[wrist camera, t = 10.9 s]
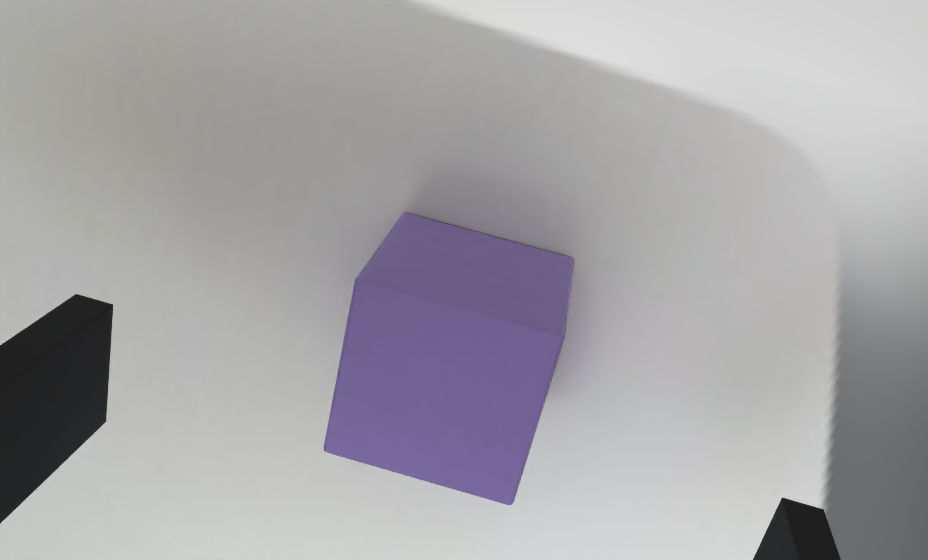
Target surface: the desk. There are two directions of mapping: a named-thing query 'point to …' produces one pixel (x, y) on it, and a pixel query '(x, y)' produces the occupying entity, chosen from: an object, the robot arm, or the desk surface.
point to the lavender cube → (449, 356)
